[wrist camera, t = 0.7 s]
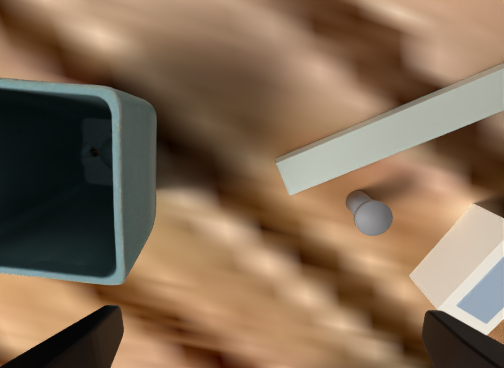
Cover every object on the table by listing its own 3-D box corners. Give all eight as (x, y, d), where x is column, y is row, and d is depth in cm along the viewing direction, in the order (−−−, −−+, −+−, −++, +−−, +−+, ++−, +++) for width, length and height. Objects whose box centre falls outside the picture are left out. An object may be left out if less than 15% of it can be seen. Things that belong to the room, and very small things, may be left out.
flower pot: (51, 81, 20) (-111, 66, 11) (181, 93, 20) (119, 87, 11) (63, 204, 22) (-64, 269, 14) (179, 215, 22) (125, 288, 14)
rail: (594, 127, 19) (661, 132, 16) (307, 234, 22) (314, 257, 19) (580, 30, 18) (651, 14, 15) (274, 158, 21) (277, 169, 17)
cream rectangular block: (471, 202, 21) (519, 225, 17) (513, 230, 22) (569, 259, 18) (407, 274, 23) (438, 311, 19) (447, 298, 23) (485, 339, 19)
